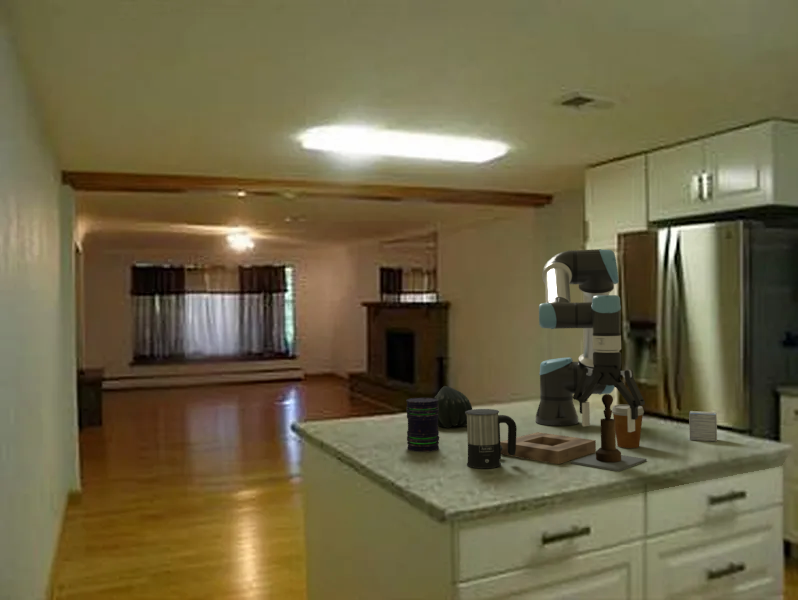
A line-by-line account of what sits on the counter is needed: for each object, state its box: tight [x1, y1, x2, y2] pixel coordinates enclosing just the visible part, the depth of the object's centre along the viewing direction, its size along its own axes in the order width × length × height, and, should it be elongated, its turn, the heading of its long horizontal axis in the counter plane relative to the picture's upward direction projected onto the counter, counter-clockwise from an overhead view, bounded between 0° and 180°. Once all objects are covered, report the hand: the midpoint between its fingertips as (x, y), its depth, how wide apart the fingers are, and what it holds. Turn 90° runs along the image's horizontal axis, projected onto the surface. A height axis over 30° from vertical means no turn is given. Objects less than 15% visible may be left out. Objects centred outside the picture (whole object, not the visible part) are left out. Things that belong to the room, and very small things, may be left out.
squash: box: [434, 385, 473, 429], centre depth 255 cm, size 14×15×15 cm
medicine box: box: [688, 410, 718, 443], centre depth 223 cm, size 8×4×9 cm, turn 65°
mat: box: [570, 452, 647, 472], centre depth 194 cm, size 14×16×1 cm
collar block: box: [500, 431, 597, 465], centre depth 207 cm, size 20×20×4 cm
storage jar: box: [406, 397, 440, 453], centre depth 216 cm, size 10×10×15 cm
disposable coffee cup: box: [611, 404, 645, 449], centre depth 215 cm, size 10×10×12 cm
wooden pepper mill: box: [595, 393, 622, 462], centre depth 194 cm, size 7×6×18 cm
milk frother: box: [465, 408, 517, 469], centre depth 197 cm, size 14×16×15 cm
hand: (608, 428), depth 194 cm, fingers open, 13 cm apart
